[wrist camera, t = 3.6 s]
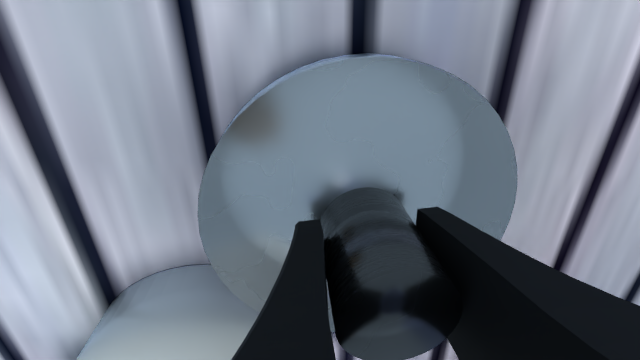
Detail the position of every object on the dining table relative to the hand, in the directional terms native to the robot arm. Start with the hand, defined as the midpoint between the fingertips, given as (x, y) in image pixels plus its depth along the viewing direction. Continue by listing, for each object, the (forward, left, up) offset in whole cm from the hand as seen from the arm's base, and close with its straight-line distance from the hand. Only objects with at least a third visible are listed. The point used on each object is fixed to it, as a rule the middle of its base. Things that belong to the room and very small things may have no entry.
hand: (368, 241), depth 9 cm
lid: (0, 0, -2) cm, 2 cm away
